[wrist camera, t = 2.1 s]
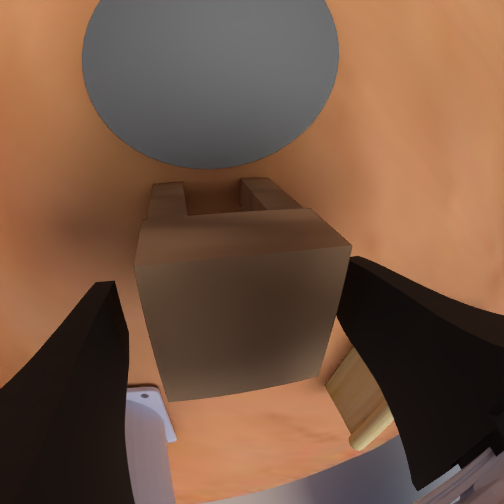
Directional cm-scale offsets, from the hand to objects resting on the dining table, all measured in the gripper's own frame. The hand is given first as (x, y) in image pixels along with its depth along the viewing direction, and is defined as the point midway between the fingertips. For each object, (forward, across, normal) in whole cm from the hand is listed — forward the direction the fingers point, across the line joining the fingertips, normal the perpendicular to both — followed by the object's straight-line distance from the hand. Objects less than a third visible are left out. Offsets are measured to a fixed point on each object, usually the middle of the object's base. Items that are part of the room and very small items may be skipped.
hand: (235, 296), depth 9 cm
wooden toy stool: (+5, 0, 0) cm, 5 cm away
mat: (+5, 0, -8) cm, 9 cm away
